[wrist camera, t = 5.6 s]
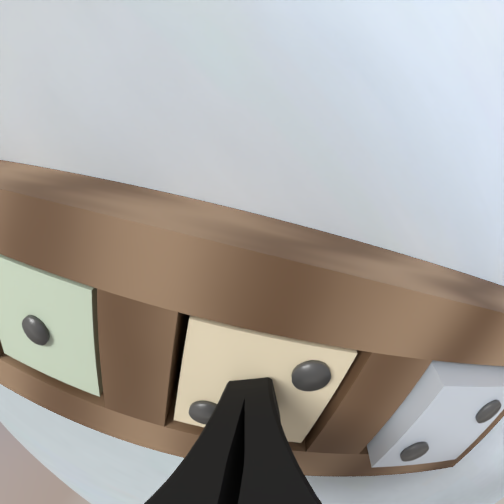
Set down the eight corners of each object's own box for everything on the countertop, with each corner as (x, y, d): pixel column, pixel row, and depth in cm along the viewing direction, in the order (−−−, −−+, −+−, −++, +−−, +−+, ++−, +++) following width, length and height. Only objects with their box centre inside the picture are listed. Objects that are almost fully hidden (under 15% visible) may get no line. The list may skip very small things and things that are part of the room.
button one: (126, 252, 11) (88, 293, 8) (123, 352, 13) (98, 400, 10) (25, 223, 11) (-22, 251, 8) (34, 319, 13) (2, 355, 10)
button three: (340, 304, 11) (358, 357, 9) (297, 393, 13) (301, 446, 11) (205, 272, 11) (187, 322, 8) (187, 371, 13) (172, 424, 10)
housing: (532, 296, 11) (566, 328, 8) (438, 430, 15) (452, 466, 12) (-11, 158, 10) (-61, 174, 7) (9, 339, 13) (-19, 371, 11)
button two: (493, 346, 11) (524, 388, 8) (438, 419, 13) (456, 462, 10) (416, 334, 11) (446, 390, 8) (360, 418, 12) (372, 471, 10)
